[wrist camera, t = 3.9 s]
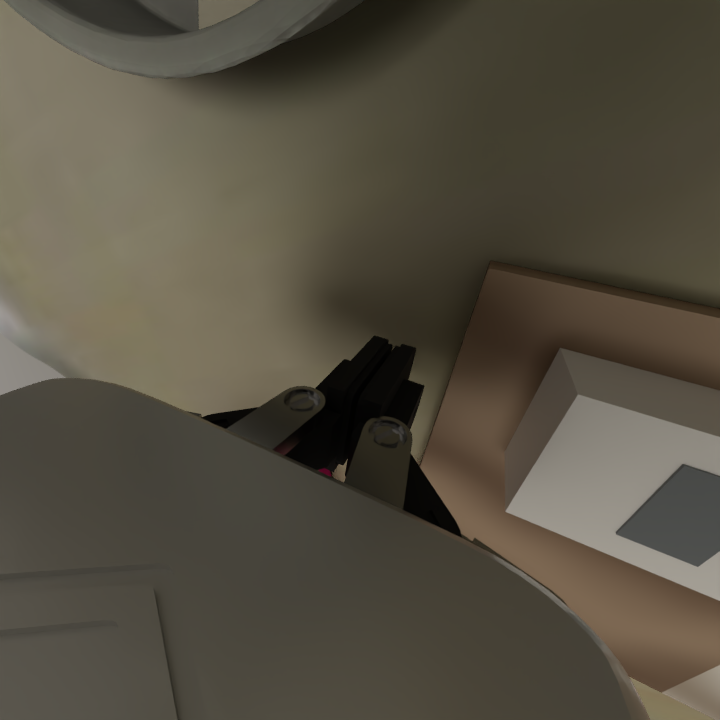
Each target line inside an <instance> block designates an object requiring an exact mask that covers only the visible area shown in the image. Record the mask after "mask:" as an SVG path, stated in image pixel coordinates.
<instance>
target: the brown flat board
mask: <svg viewBox="0 0 720 720" xmlns="http://www.w3.org/2000/svg"><path fill="white" fill-rule="evenodd" d="M560 348H563V349H567V350H570V351H574V352H578V353H582V354H585V355H589V356H593V357H596V358H600V359H604V360H608V361H611V362H615V363H619V364H623V365H626V366H630V367H634V368H638V369H641V370H645V371H649V372H652V373H656V374H660V375H664V376H667V377H671V378H675V379H679V380H682V381H686V382H690V383H693V384H697V385H701V386H705V387H708V388H712V389H716V390H720V309H718V308H714V307H709V306H704V305H699V304H694V303H690V302H685V301H680V300H675V299H671V298H666V297H661V296H656V295H652V294H647V293H642V292H637V291H633V290H628V289H623V288H618V287H614V286H609V285H604V284H599V283H595V282H590V281H585V280H580V279H576V278H571V277H566V276H561V275H557V274H552V273H547V272H542V271H538V270H533V269H528V268H523V267H519V266H514V265H509V264H504V263H500V262H495V261H490V263H489V266H488V269H487V272H486V275H485V278H484V281H483V284H482V287H481V290H480V292H479V295H478V298H477V301H476V304H475V307H474V310H473V313H472V316H471V319H470V322H469V324H468V327H467V330H466V333H465V336H464V339H463V342H462V345H461V348H460V351H459V354H458V356H457V359H456V362H455V365H454V368H453V371H452V374H451V377H450V380H449V383H448V386H447V388H446V391H445V394H444V397H443V400H442V403H441V406H440V409H439V412H438V415H437V417H436V420H435V423H434V426H433V429H432V432H431V435H430V438H429V441H428V444H427V447H426V449H425V452H424V455H423V458H422V461H421V464H420V468H421V470H422V471H423V473H424V474H425V476H426V477H427V479H428V480H429V482H430V483H431V485H432V486H433V488H434V489H435V491H436V492H437V494H438V495H439V497H440V498H441V500H442V501H443V503H444V504H445V506H446V507H447V509H448V510H449V511H450V513H451V514H452V516H453V517H454V519H455V520H456V522H457V524H458V526H459V528H460V531H461V534H463V535H464V536H466V537H467V538H468V539H470V540H471V541H473V539H474V537H475V538H476V539H478V540H479V541H481V542H482V543H483V544H485V545H486V546H488V547H489V548H491V549H492V550H494V551H495V552H497V553H498V554H500V555H501V556H502V557H504V558H505V559H507V560H508V561H510V562H511V563H513V564H514V565H516V566H517V567H519V568H520V569H521V570H523V571H524V572H526V573H527V574H529V575H530V576H532V577H533V578H535V579H536V580H538V581H539V582H540V583H542V584H543V585H545V586H546V587H548V588H549V589H551V590H552V591H553V592H554V593H556V594H557V595H558V596H559V597H560V598H561V599H562V600H564V602H565V603H566V604H567V606H568V607H569V608H570V609H571V610H572V611H574V612H575V613H576V614H577V615H578V616H579V617H580V618H581V619H582V620H583V621H584V622H585V623H586V624H587V625H588V626H589V627H590V628H591V629H592V630H593V631H594V632H595V633H596V634H597V635H598V636H599V637H600V638H601V639H602V640H603V642H604V643H605V644H606V645H607V646H608V647H609V649H610V650H611V651H612V653H613V654H614V655H615V656H616V658H617V659H618V660H619V662H620V663H621V665H622V666H623V668H624V669H625V671H626V673H627V674H628V676H629V677H631V678H633V679H635V680H637V681H639V682H641V683H643V684H645V685H647V686H649V687H651V688H653V689H655V690H657V691H659V692H661V693H663V694H665V695H667V696H669V697H671V698H673V699H675V700H677V701H679V702H681V703H683V704H685V705H687V706H689V707H691V708H693V709H695V710H697V711H699V712H701V713H703V714H705V715H707V716H709V717H711V718H713V719H715V720H720V601H719V600H716V599H714V598H712V597H709V596H707V595H704V594H702V593H700V592H697V591H695V590H692V589H690V588H688V587H685V586H683V585H680V584H678V583H676V582H673V581H671V580H668V579H666V578H664V577H661V576H659V575H656V574H654V573H651V572H649V571H647V570H644V569H642V568H639V567H637V566H635V565H632V564H630V563H627V562H625V561H623V560H620V559H618V558H615V557H613V556H611V555H608V554H606V553H603V552H601V551H599V550H596V549H594V548H591V547H589V546H587V545H584V544H582V543H579V542H577V541H575V540H572V539H570V538H567V537H565V536H563V535H560V534H558V533H555V532H553V531H551V530H548V529H546V528H543V527H541V526H539V525H536V524H534V523H531V522H529V521H527V520H524V519H522V518H519V517H517V516H515V515H512V514H510V513H507V512H505V450H506V448H507V446H508V445H509V443H510V441H511V439H512V437H513V435H514V433H515V431H516V430H517V428H518V426H519V424H520V422H521V420H522V418H523V416H524V415H525V413H526V411H527V409H528V407H529V405H530V403H531V401H532V400H533V398H534V396H535V394H536V392H537V390H538V388H539V386H540V385H541V383H542V381H543V379H544V377H545V375H546V373H547V371H548V370H549V368H550V366H551V364H552V362H553V360H554V358H555V356H556V355H557V353H558V351H559V349H560Z"/></svg>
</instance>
